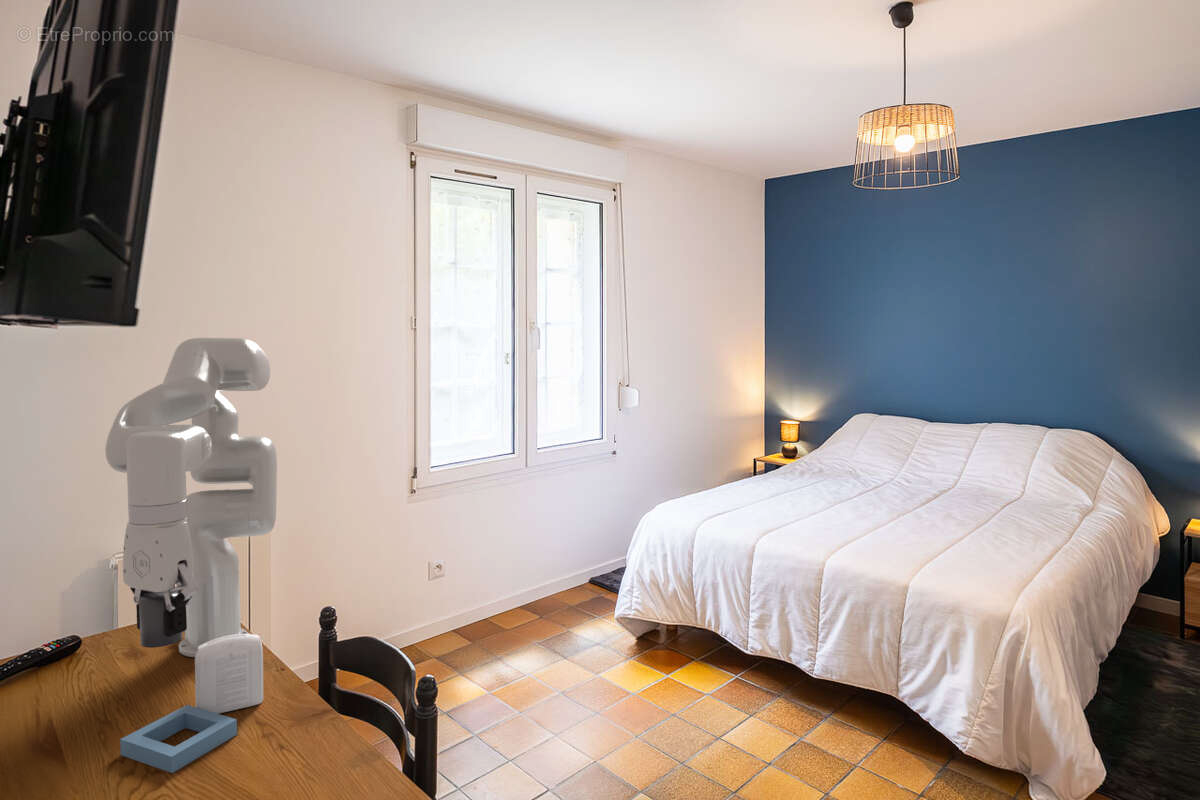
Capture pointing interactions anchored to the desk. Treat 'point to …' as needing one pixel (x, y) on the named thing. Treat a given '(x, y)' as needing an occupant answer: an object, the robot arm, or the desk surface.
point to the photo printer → (229, 673)
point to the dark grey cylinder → (154, 621)
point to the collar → (170, 758)
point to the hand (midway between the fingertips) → (162, 628)
